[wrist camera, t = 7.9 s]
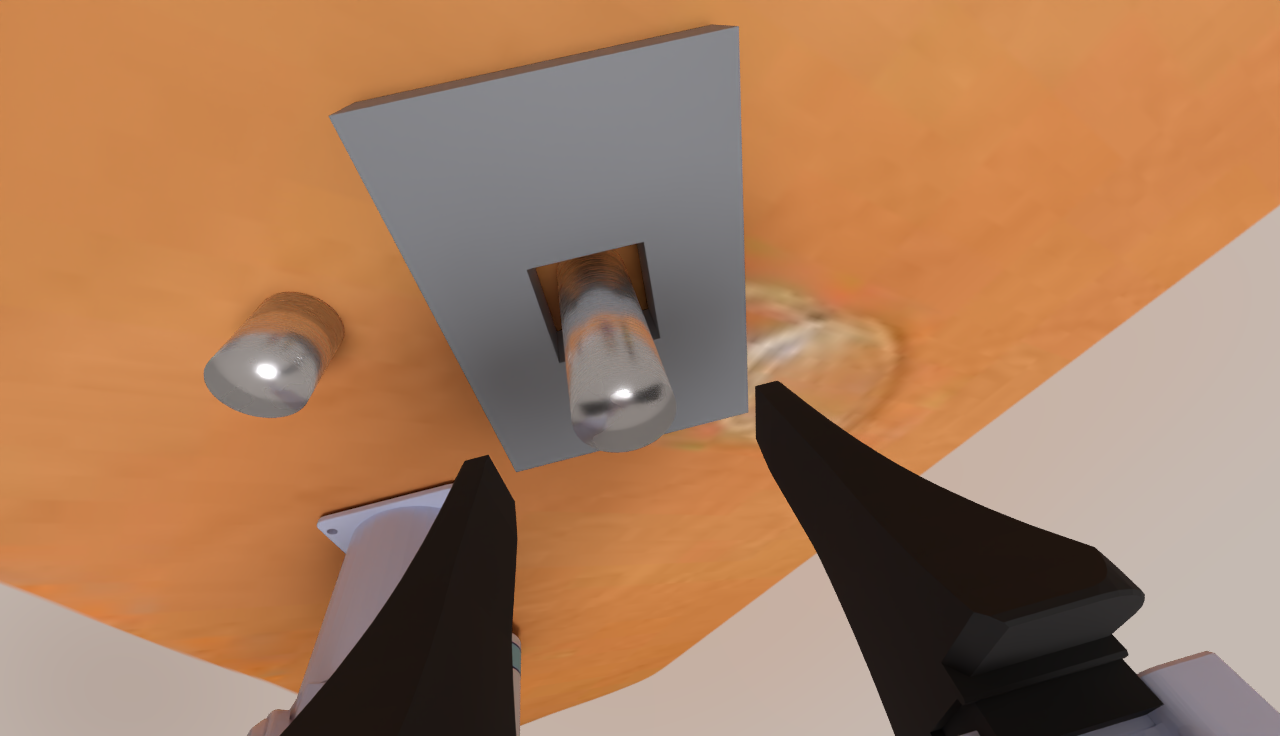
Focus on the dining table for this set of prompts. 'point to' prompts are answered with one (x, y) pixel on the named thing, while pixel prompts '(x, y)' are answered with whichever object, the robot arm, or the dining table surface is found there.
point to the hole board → (571, 217)
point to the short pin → (276, 356)
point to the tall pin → (610, 357)
